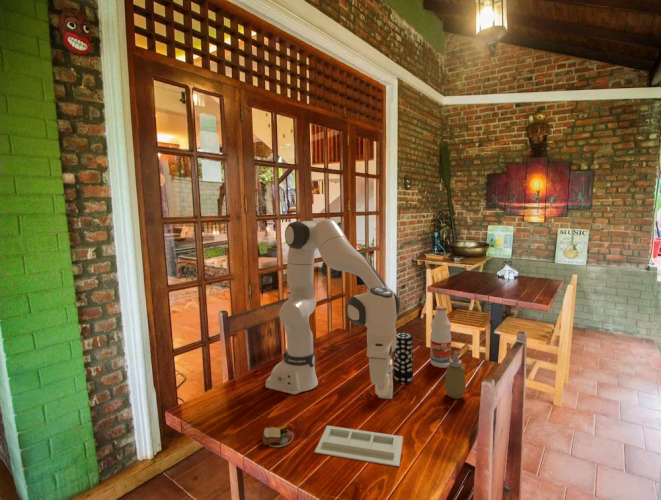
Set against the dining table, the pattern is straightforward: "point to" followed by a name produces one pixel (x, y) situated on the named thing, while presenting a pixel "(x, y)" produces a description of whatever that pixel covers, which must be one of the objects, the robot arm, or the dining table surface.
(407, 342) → the white-spotted black cylinder
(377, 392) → the egg
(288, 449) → the dining table surface
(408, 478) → the dining table surface
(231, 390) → the dining table surface
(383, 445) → the egg tray
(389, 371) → the syrup box
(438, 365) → the fruit juice
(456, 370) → the squeeze bottle
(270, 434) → the toy sandwich meal
